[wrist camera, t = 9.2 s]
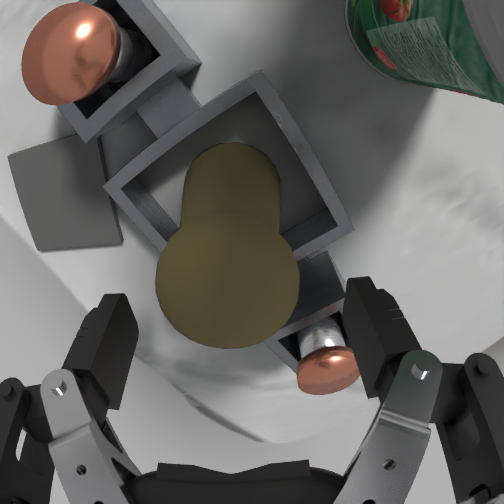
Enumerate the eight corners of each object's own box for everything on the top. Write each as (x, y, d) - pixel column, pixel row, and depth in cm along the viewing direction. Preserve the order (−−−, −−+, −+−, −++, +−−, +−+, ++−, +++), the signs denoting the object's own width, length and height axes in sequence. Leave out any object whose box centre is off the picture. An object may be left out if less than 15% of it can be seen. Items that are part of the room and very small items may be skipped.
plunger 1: (92, 34, 12) (19, 25, 6) (158, 17, 12) (109, -13, 6) (98, 96, 14) (27, 117, 8) (163, 82, 14) (115, 90, 8)
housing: (48, 83, 14) (0, 93, 10) (179, -30, 11) (158, -60, 7) (270, 341, 27) (275, 388, 22) (379, 288, 24) (401, 331, 20)
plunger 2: (285, 284, 22) (300, 363, 16) (339, 280, 22) (367, 354, 16) (284, 323, 24) (295, 397, 18) (332, 318, 24) (354, 390, 18)
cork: (287, 221, 20) (324, 356, 11) (199, 239, 21) (174, 377, 12) (270, 132, 17) (311, 213, 8) (172, 155, 18) (101, 257, 8)
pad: (11, 154, 16) (7, 156, 16) (98, 129, 16) (95, 130, 16) (40, 247, 20) (37, 250, 20) (123, 239, 20) (121, 243, 20)
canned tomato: (437, 101, 16) (566, 153, 6) (331, 56, 14) (445, 49, 5) (457, 7, 11) (582, 9, 2) (356, -46, 10) (458, -115, 1)
